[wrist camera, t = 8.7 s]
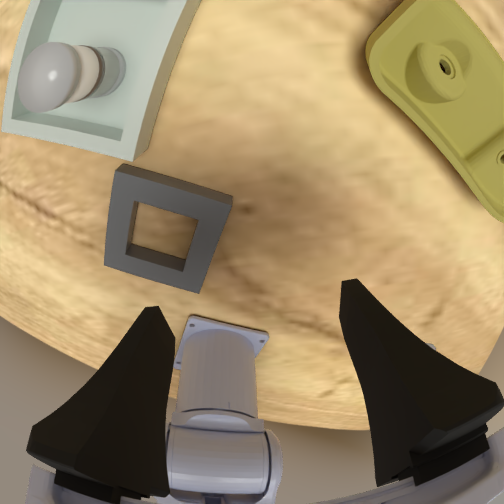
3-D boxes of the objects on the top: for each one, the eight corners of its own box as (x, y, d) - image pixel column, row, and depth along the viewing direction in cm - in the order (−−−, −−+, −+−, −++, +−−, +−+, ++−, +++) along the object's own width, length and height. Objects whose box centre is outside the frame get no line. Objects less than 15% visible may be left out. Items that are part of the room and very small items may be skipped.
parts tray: (147, 148, 17) (132, 161, 15) (25, 121, 14) (1, 131, 12) (204, -6, 11) (197, -21, 9) (62, -14, 9) (40, -21, 6)
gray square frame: (200, 281, 23) (198, 293, 22) (110, 254, 22) (103, 265, 20) (232, 196, 19) (232, 205, 18) (123, 163, 17) (115, 170, 16)
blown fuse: (117, 100, 15) (62, 117, 9) (75, 93, 14) (12, 109, 8) (133, 50, 13) (80, 42, 7) (88, 45, 12) (26, 42, 7)
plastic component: (351, 67, 13) (454, -36, 5) (347, 44, 17) (420, -31, 9) (503, 239, 18) (578, 189, 10) (482, 186, 22) (544, 140, 14)
